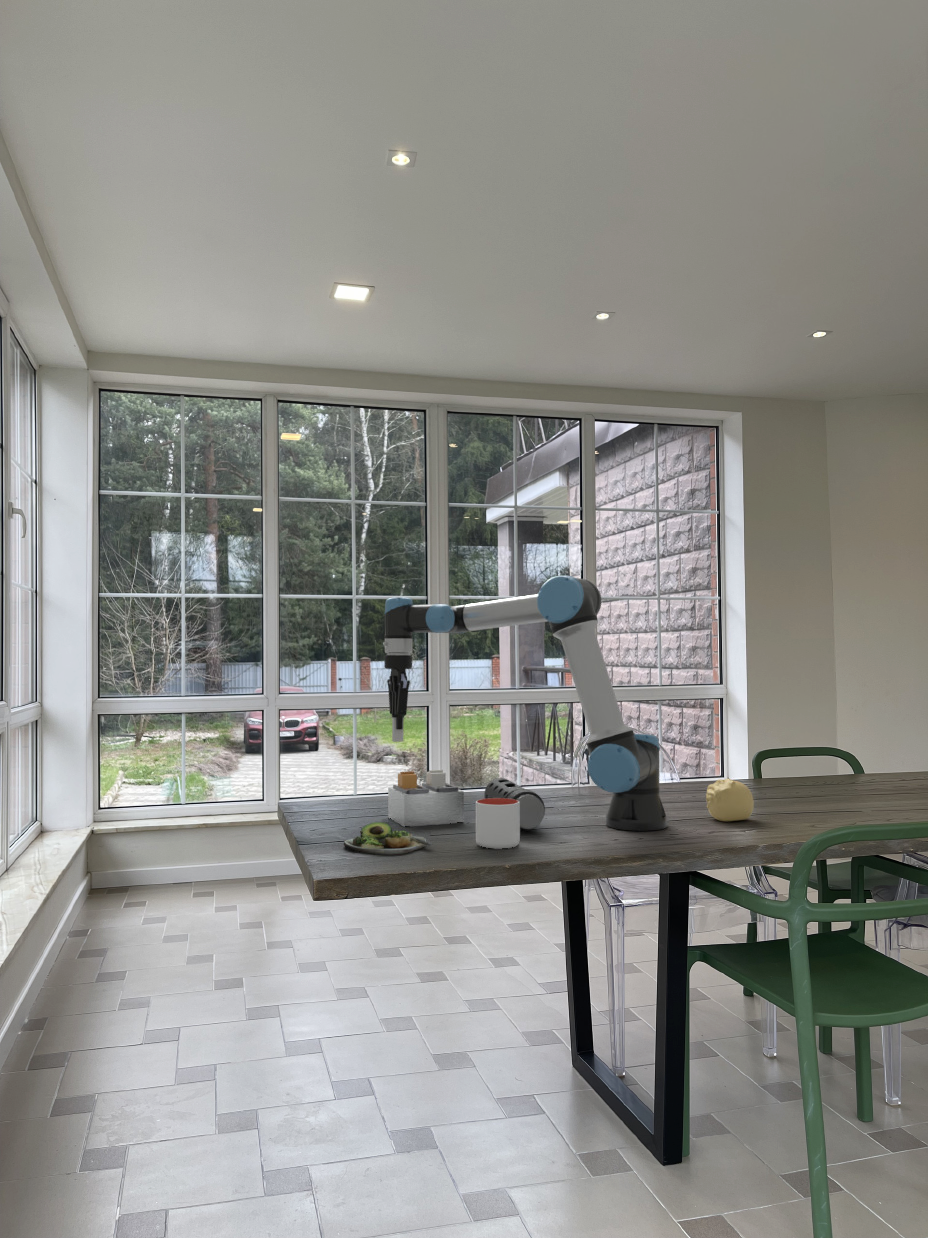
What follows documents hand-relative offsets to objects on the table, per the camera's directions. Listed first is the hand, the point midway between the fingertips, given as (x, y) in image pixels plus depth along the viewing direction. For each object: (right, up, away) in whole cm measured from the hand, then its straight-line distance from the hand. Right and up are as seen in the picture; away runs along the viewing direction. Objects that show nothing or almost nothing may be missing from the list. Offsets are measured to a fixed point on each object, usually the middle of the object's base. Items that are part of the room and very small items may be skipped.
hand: (397, 741), depth 251 cm
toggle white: (+11, -11, -5) cm, 16 cm away
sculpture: (+87, -20, -10) cm, 90 cm away
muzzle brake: (+31, -19, -16) cm, 40 cm away
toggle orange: (+3, -11, -8) cm, 14 cm away
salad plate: (0, -19, -42) cm, 46 cm away
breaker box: (+8, -19, -10) cm, 23 cm away
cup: (+26, -18, -41) cm, 52 cm away
